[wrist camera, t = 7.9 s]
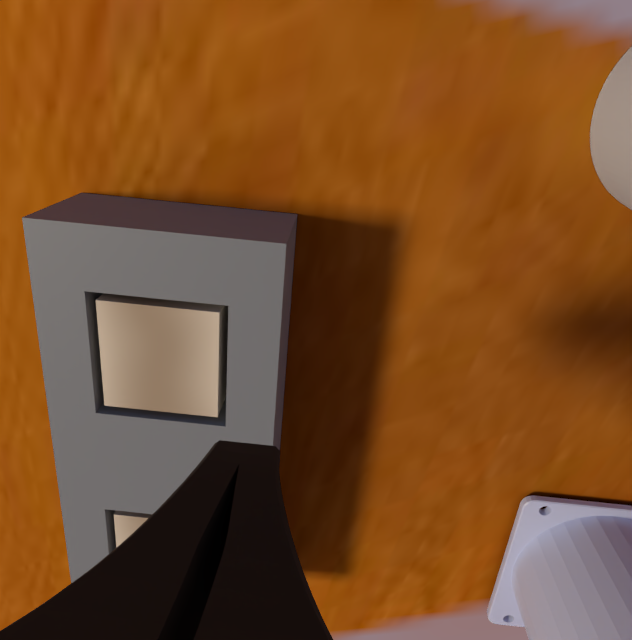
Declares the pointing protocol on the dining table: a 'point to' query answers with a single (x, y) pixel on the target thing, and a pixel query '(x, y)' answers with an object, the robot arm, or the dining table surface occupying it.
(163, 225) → the grey peg hole board
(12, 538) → the dining table surface
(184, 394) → the near peg
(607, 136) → the coffee cup
